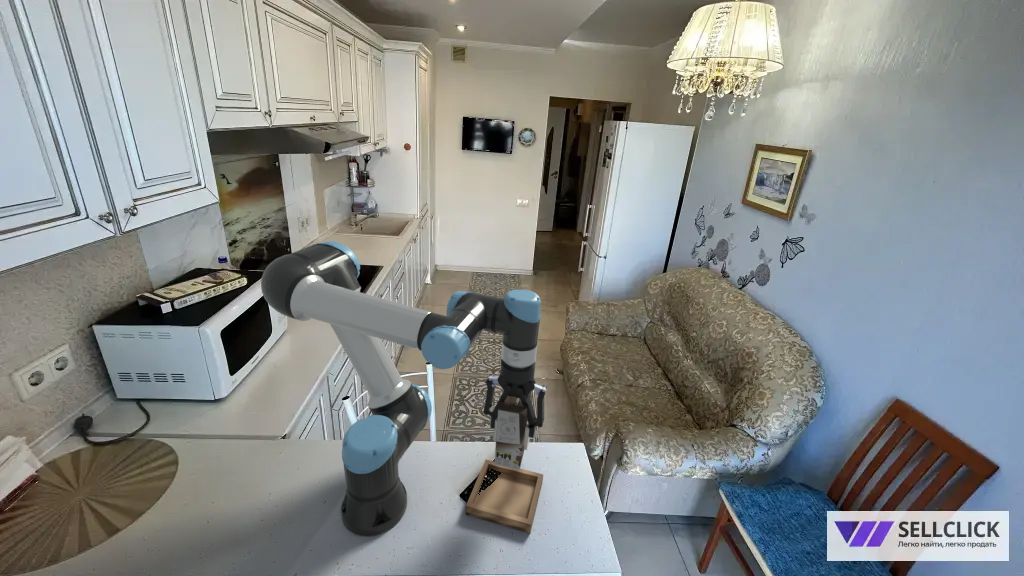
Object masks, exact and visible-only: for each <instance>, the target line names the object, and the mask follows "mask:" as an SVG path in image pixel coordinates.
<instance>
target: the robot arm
mask: <svg viewBox="0 0 1024 576" xmlns="http://www.w3.org/2000/svg"><path fill="white" fill-rule="evenodd" d="M360 270H361V265H360V262H359V259H358V258H357V256H356V254H355V252H354V251H352V249H351V248H349V247H348V246H346V245H345V244H342V243H340V242H338V241H334V240H329V241H323V242H318V243H316V244H312V245H310V246H307V247H305V248H301V249H299V250H296V251H293V252H292V253H288V254H284V255H282V256H279V257H277V258H275V259H274V260H272V261H271V262H270V263H269V264H268V265H267V266H266V268H265V269H264V271H263V273H262V275H261V280H260V289H261V293H262V295H263V298H264V300H265V301H266V302H267V304H268V305H269V306H270V307H271V308H273V309H274V311H275V312H278V313H279V314H281V315H283V316H285V317H288V318H290V319H294V320H297V321H300V322H301V321H302V322H306V321H310V320H316V321H320V322H322V323H326V324H329V325H330V327H331V329H332V330H333V332H334V335H336V337H337V339H338V341H339V344H341V347H342V348H343V350H344V353H345V354H346V356H347V358H348V360H350V362H351V364H352V366H353V368H354V370H355V372H356V374H357V375H358V378H359V379H360V381H361V382H362V384H363V386H364V388H365V389H366V391H367V393H368V395H369V399H368V402H367V407H368V409H369V410H370V412H371V414H372V415H368V416H366V417H365V418H360V419H359V420H357V421H355V422H354V423H352V425H351V426H349V428H348V430H346V432H345V434H344V436H343V439H342V444H341V445H342V446H341V448H342V449H341V457H342V462H343V471H344V478H345V485H346V490H345V493H344V495H343V499H342V502H341V506H340V513H341V519H342V523H343V525H344V527H345V528H346V529H347V530H348V531H349V532H351V533H352V534H354V535H357V536H362V537H373V536H378V535H381V534H383V533H385V532H388V531H390V530H391V529H392V528H393V527H395V526H396V525H397V524H398V523H399V522H400V521H401V520H402V518H403V517H404V515H405V513H406V510H407V507H408V493H407V489H406V487H405V485H404V483H403V482H402V480H401V478H400V476H399V462H400V460H401V459H402V457H403V456H404V454H405V453H406V452H407V451H408V449H409V448H410V447H411V445H412V443H414V441H415V440H416V438H417V437H418V436H419V434H420V433H421V432H422V431H423V430H424V428H425V427H426V426H427V424H428V422H429V419H430V417H431V415H432V410H433V408H432V406H433V405H432V402H431V401H432V400H431V399H430V397H429V394H428V393H427V392H426V391H425V389H423V388H420V386H419V385H417V384H413V383H412V382H411V381H410V380H408V379H404V378H402V377H401V375H400V373H399V371H398V369H397V367H396V365H395V363H394V361H393V359H392V358H391V356H390V354H389V352H388V350H387V348H386V346H385V344H384V343H383V340H384V341H387V342H391V343H394V344H397V345H401V346H403V347H408V348H411V349H414V350H417V351H421V354H422V357H423V358H424V360H425V361H426V362H427V363H429V364H430V365H431V366H432V367H434V368H436V369H439V370H447V369H451V368H455V366H457V364H459V363H460V361H462V360H463V359H464V358H465V357H466V356H467V355H468V353H469V351H470V349H471V348H472V347H473V345H474V343H476V342H477V340H478V339H479V337H481V335H482V334H483V332H488V333H493V334H501V335H502V340H501V341H502V343H501V360H500V369H499V370H500V374H499V375H494V374H492V373H490V374H489V375H488V377H487V379H486V380H485V383H486V388H487V389H486V396H485V401H484V406H483V414H484V415H485V416H490V428H491V429H494V431H493V433H494V434H493V435H494V436H493V443H496V432H497V418H498V408H499V405H500V402H504V401H505V400H506V398H507V396H511V397H517V398H520V400H521V403H522V404H523V406H526V407H527V420H528V422H527V425H526V431H525V441H524V449H525V450H526V451H527V450H528V447H529V444H530V438H534V436H535V434H536V427H537V428H542V427H543V424H544V421H545V395H546V392H547V389H548V386H547V385H545V384H542V385H539V384H537V383H536V381H535V380H536V379H535V374H536V373H535V372H536V360H537V352H538V342H539V341H538V339H539V332H540V325H541V324H540V323H541V317H542V315H541V305H542V302H541V297H540V296H539V295H538V294H537V293H536V292H534V291H532V290H528V289H512V290H509V291H508V292H507V293H506V294H505V297H502V298H501V297H497V296H491V295H487V294H481V293H476V292H474V291H464V290H463V291H462V290H461V291H460V290H459V291H458V290H457V291H455V292H453V293H452V294H451V295H450V299H449V300H448V303H447V306H446V315H444V314H440V313H435V312H431V311H428V310H426V309H425V310H424V309H421V308H418V307H413V306H411V305H406V304H403V303H400V302H397V301H393V300H389V299H385V298H381V297H378V296H374V295H371V294H368V293H364V292H361V289H362V287H361V285H360V283H359V281H358V278H359V276H360ZM497 384H499V386H500V387H501V389H502V390H503V391H502V393H501V395H500V397H499V399H498V401H497V403H496V405H495V406H494V407H492V406H493V402H494V396H495V389H496V386H497ZM533 391H534V392H535V396H536V397H537V398H536V412H535V410H534V407H533V403H532V399H531V398H530V392H531V393H532V392H533ZM535 413H536V414H535ZM525 450H524V451H525Z"/></svg>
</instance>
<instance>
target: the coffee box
mask: <svg viewBox="0 0 1024 576" xmlns="http://www.w3.org/2000/svg"><path fill="white" fill-rule="evenodd" d="M531 395H532V391H531V392H530V399H531V398H532V397H531ZM527 422H528V420H527V407H526V406H523V404H522V403H521V400H520V398H517V397H511V396H507V398H506V400H505V401H504V402H500V405H499V408H498V418H497V432H496V442H495V450H494V464H495V465H498V466H502V467H507V468H511V469H516V470H520V469H521V468H522V467H521V465H522V462H523V457H524V455H525V449H524V441H525V431H526V425H527Z"/></svg>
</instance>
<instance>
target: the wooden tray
mask: <svg viewBox="0 0 1024 576" xmlns="http://www.w3.org/2000/svg"><path fill="white" fill-rule="evenodd" d="M494 462H495V460H494V461H493V460H490V459H485V460H484V462H483V465H482V467H481V470H480V472H479V474H478V476H477V479H476V481H475V483H474V486H473V488H472V491H471V493H470V495H469V498H468V500H467V502H466V504H465V515H466V516H469V517H473V518H476V519H479V520H483V521H486V522H489V523H494V524H497V525H499V526H502V527H506V528H511V529H514V530H516V531H517V530H518V531H520V532H524V533H527V534H531V532H532V528H533V523H534V521H535V515H536V512H537V511H536V510H537V507H538V502H539V498H540V496H541V495H540V494H541V490H542V485H543V480H544V474H543V473H539V472H536V471H531V470H527V469H525V468H520V470H516V469H511V468H507V467H502V466H498V465H495V464H494ZM488 468H489V469H494V470H496V471H499V472H501V474H500V475H498V478H497V479H496V480H495V481H494V482H493V483H492V484H491V485H490V486H488V487H487V488H486V489H485V490H482V491H481V492H480V493H479V490H480V488H481V485H482V483H483V480H484V477H485V475H486V473H487V470H488ZM478 493H479V494H480V495H479V494H478Z"/></svg>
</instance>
